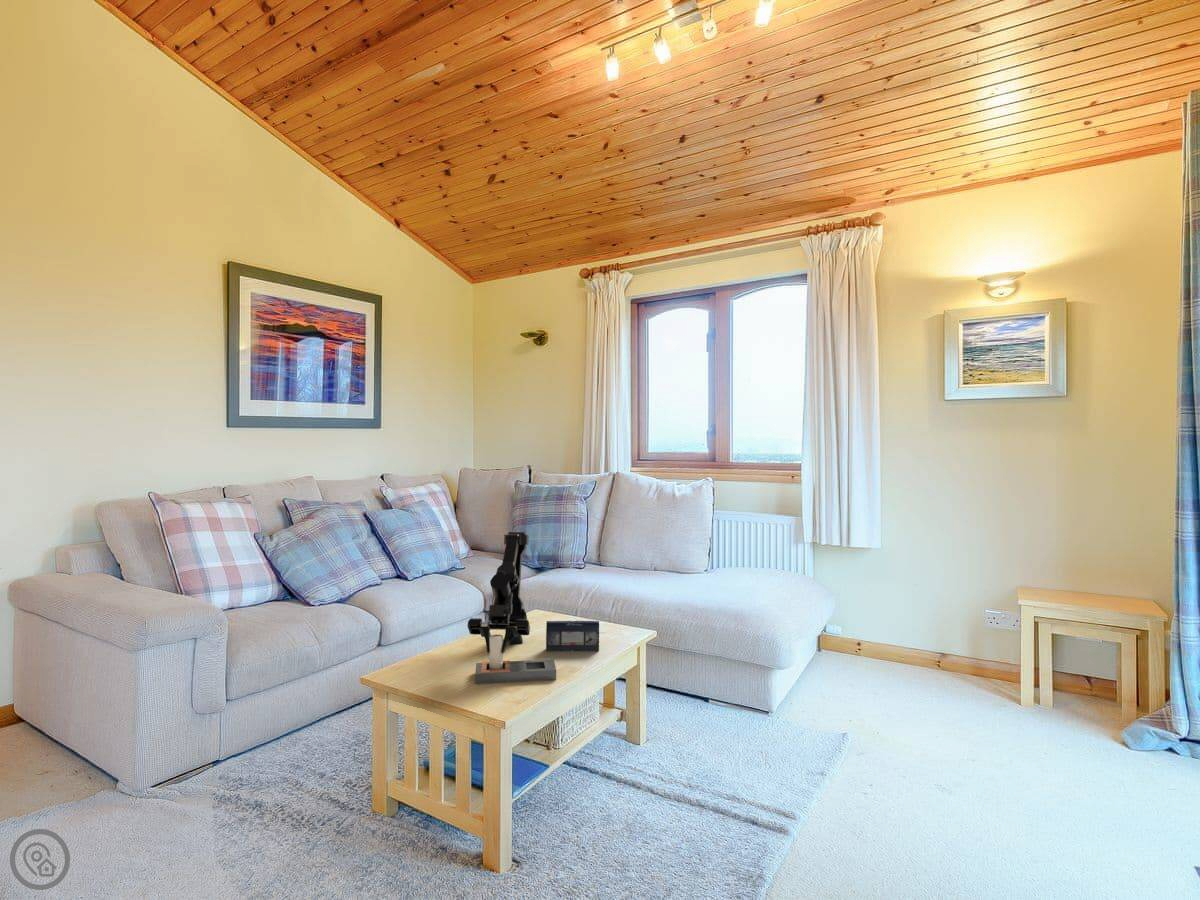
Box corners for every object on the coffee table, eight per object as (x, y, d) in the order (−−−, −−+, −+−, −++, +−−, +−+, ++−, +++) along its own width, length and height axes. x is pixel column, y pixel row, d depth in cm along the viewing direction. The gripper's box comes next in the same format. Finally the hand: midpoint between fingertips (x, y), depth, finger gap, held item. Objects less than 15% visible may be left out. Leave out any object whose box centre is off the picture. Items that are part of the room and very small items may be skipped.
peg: (492, 669, 187) (492, 634, 187) (504, 670, 186) (504, 635, 186) (487, 674, 183) (487, 638, 183) (499, 675, 182) (500, 639, 182)
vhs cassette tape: (545, 651, 208) (545, 622, 208) (546, 648, 211) (546, 620, 211) (599, 652, 208) (599, 623, 208) (599, 649, 211) (599, 620, 211)
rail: (476, 672, 188) (476, 662, 188) (553, 668, 192) (553, 658, 192) (475, 684, 179) (475, 672, 179) (556, 679, 183) (556, 668, 183)
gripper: (469, 592, 188) (459, 639, 178) (528, 593, 188) (523, 640, 177) (474, 610, 196) (466, 656, 186) (531, 611, 196) (527, 657, 185)
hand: (495, 652), depth 183 cm, fingers closed on peg, 4 cm apart
